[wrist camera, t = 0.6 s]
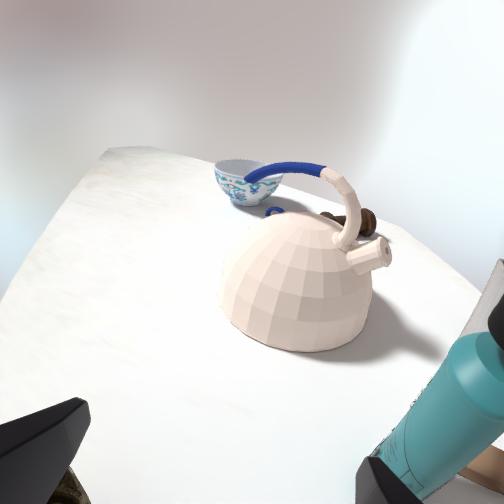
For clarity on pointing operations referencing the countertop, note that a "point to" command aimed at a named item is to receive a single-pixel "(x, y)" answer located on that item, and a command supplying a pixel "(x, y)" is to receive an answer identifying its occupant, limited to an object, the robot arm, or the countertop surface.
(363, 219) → the bolt
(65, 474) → the cup
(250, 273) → the kettle
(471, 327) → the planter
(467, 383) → the beverage bottle
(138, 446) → the countertop surface
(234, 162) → the chinaware
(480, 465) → the notched board
